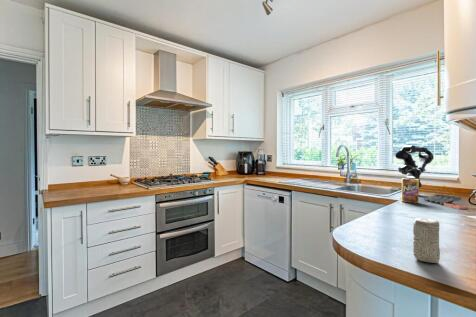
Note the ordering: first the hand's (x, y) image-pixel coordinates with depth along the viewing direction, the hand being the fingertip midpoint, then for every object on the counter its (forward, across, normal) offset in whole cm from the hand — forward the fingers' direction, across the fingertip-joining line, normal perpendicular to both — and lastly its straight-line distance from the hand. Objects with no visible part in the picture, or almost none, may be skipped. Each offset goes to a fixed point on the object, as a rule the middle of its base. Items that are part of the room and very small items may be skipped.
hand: (418, 179), depth 177 cm
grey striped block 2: (+18, +4, +5) cm, 19 cm away
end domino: (+24, +7, +13) cm, 28 cm away
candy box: (+18, +19, -1) cm, 27 cm away
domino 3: (+20, +5, +8) cm, 22 cm away
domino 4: (+22, +6, +11) cm, 25 cm away
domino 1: (+16, +2, +2) cm, 16 cm away
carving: (+63, +102, +47) cm, 129 cm away
